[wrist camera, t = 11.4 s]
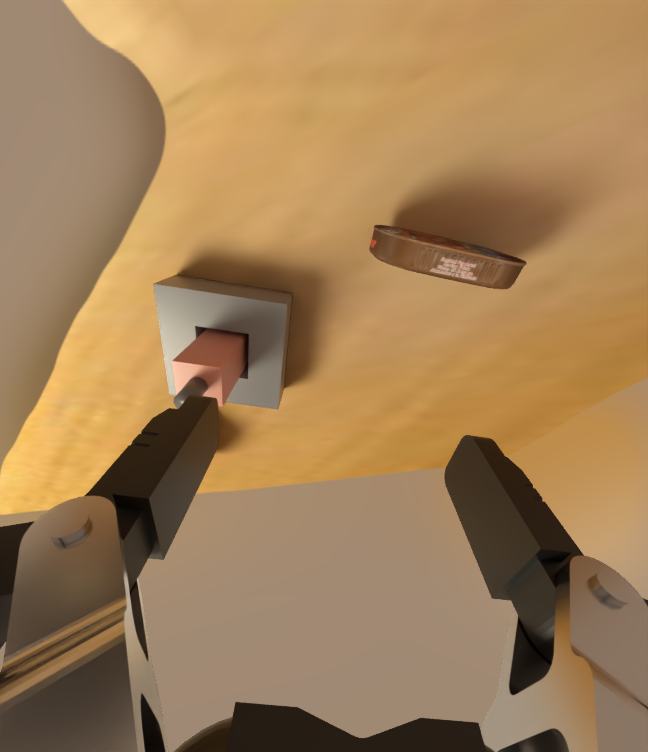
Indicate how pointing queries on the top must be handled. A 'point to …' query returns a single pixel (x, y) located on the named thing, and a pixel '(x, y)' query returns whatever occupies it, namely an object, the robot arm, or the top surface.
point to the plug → (210, 365)
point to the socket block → (231, 313)
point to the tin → (444, 257)
